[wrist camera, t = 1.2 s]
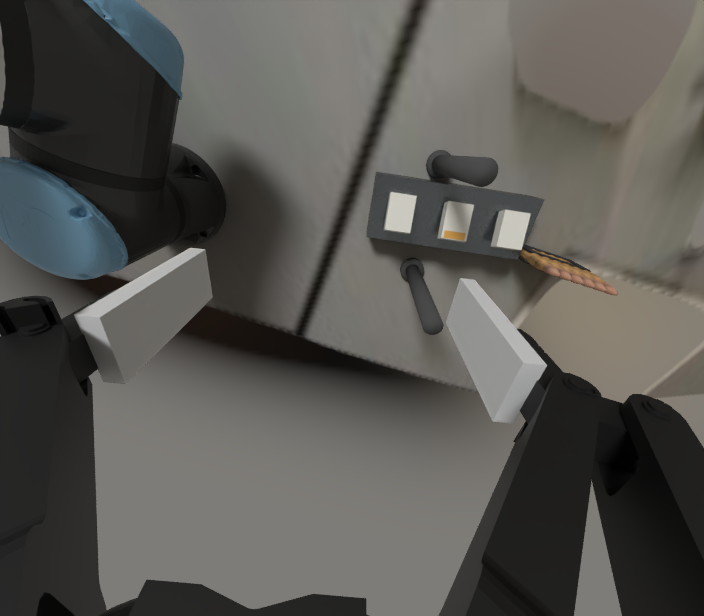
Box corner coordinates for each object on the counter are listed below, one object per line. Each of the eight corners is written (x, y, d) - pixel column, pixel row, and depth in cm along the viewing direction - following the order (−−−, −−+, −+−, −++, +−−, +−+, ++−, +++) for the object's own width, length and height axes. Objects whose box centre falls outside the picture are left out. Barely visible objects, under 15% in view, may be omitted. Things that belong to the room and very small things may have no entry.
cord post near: (423, 175, 43) (458, 190, 26) (430, 148, 41) (471, 146, 25) (447, 179, 43) (496, 196, 27) (454, 152, 41) (511, 153, 25)
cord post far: (398, 277, 51) (412, 337, 35) (403, 256, 49) (420, 309, 33) (419, 281, 51) (444, 342, 35) (425, 260, 49) (454, 314, 33)
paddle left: (383, 230, 41) (384, 229, 40) (389, 194, 40) (390, 191, 39) (407, 234, 41) (410, 233, 40) (414, 198, 40) (416, 195, 39)
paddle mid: (437, 238, 42) (441, 237, 40) (444, 203, 41) (448, 200, 39) (461, 242, 42) (466, 241, 40) (468, 206, 41) (474, 204, 39)
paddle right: (490, 246, 42) (496, 246, 40) (498, 211, 41) (505, 209, 39) (514, 250, 42) (521, 250, 40) (523, 215, 41) (530, 213, 39)
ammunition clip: (571, 260, 48) (628, 290, 38) (564, 270, 49) (618, 302, 39) (515, 241, 47) (557, 267, 37) (509, 251, 48) (548, 280, 38)
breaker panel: (366, 230, 47) (366, 237, 44) (376, 171, 43) (376, 173, 39) (506, 251, 48) (517, 259, 44) (530, 195, 44) (544, 199, 40)
